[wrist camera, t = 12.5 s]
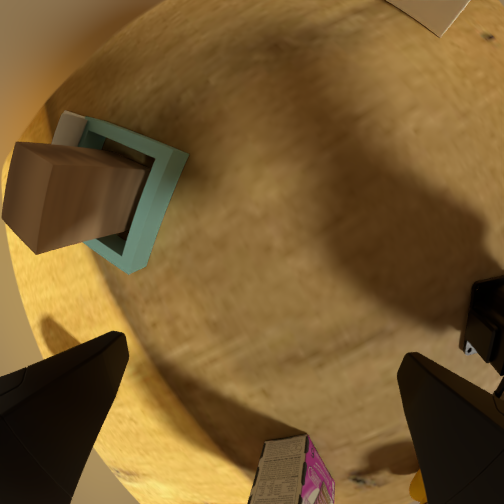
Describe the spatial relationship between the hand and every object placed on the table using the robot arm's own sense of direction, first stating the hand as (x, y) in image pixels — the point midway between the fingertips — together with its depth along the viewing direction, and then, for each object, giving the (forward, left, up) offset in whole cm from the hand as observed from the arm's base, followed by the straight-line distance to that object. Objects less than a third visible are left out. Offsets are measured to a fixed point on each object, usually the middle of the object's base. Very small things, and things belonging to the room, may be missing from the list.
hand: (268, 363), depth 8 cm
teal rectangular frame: (+15, -9, -12) cm, 22 cm away
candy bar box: (+1, +22, -12) cm, 25 cm away
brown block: (+13, -8, -12) cm, 19 cm away
